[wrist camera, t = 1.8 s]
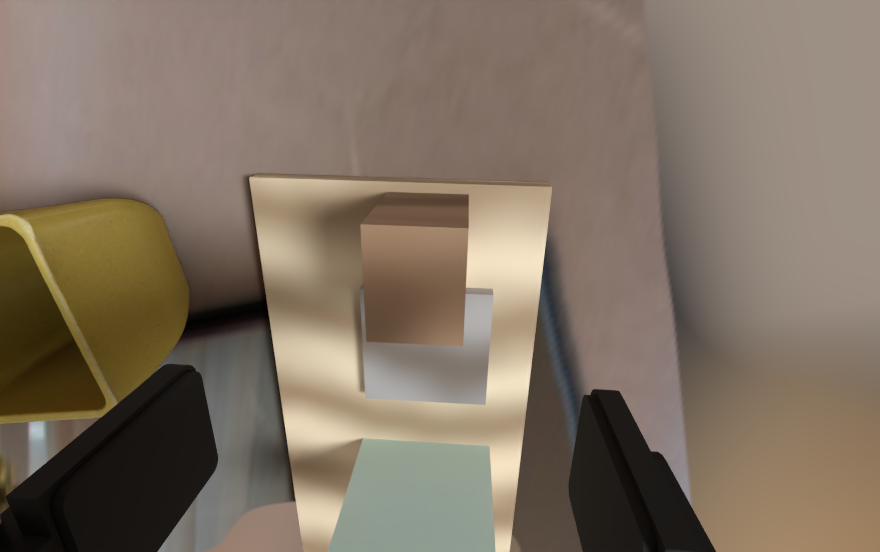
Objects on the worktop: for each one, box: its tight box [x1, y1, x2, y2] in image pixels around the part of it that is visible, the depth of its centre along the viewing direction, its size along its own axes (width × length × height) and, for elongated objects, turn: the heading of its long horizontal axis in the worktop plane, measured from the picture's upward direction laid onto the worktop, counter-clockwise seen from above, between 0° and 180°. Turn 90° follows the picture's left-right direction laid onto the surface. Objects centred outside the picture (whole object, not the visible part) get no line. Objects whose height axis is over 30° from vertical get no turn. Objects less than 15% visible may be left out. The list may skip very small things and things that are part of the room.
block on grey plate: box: [360, 192, 494, 405], centre depth 21 cm, size 12×7×6 cm, turn 178°
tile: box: [328, 438, 496, 552], centre depth 23 cm, size 2×8×10 cm, turn 88°
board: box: [249, 173, 552, 552], centre depth 27 cm, size 28×15×1 cm, turn 178°
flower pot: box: [0, 198, 189, 424], centre depth 21 cm, size 9×9×9 cm
